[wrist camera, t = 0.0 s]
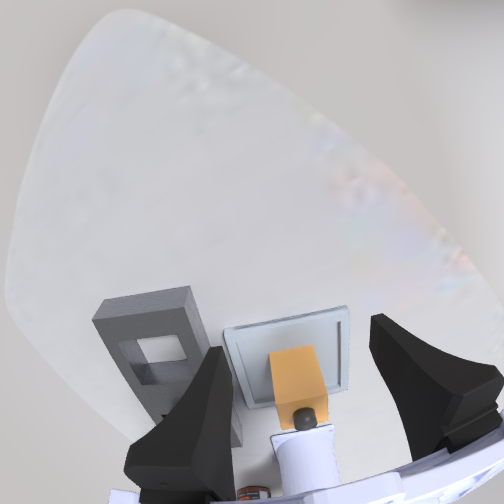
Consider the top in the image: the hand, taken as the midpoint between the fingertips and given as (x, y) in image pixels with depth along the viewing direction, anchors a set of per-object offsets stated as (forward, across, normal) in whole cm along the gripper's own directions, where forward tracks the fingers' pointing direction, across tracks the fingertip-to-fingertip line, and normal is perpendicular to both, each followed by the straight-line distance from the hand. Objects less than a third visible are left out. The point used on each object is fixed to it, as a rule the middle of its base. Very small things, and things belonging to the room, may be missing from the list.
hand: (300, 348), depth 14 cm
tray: (+10, 0, +11) cm, 15 cm away
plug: (+10, 0, +11) cm, 15 cm away
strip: (+10, +11, +11) cm, 19 cm away
